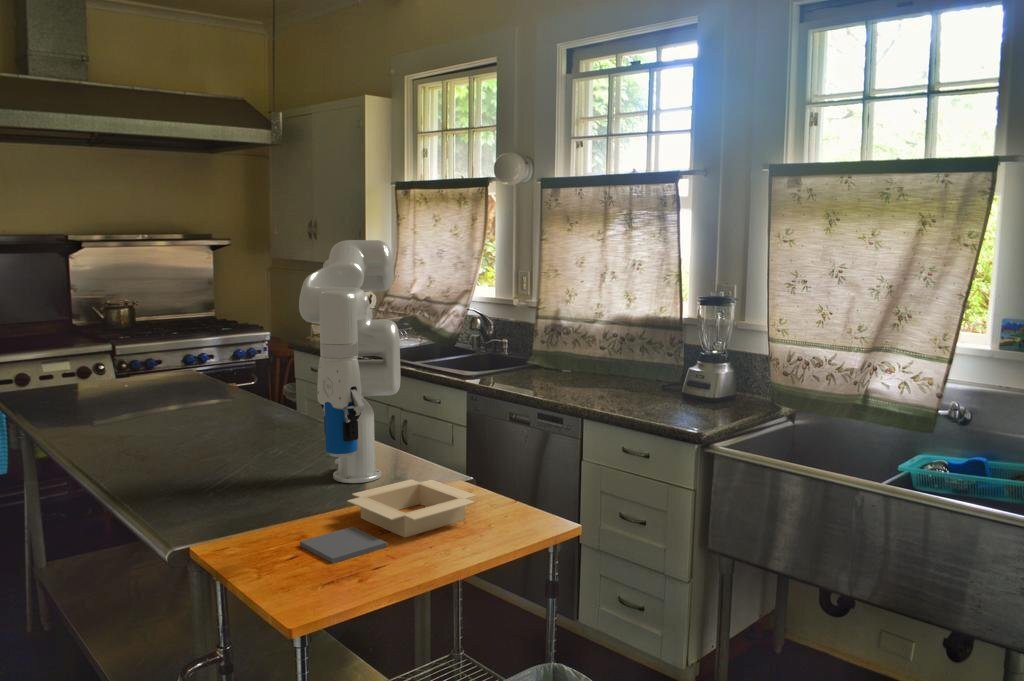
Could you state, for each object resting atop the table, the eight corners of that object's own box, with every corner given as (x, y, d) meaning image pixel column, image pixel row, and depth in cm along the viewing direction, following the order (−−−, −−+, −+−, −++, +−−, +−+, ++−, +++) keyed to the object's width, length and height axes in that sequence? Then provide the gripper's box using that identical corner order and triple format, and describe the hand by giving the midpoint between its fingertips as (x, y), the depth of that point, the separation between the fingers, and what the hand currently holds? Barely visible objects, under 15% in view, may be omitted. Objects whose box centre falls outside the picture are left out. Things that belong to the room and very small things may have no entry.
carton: (339, 517, 198) (339, 496, 197) (422, 495, 214) (422, 476, 214) (400, 545, 181) (400, 523, 180) (486, 519, 197) (486, 498, 196)
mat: (299, 545, 181) (299, 541, 181) (352, 531, 190) (352, 526, 189) (332, 563, 171) (332, 558, 171) (387, 547, 180) (386, 542, 180)
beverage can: (359, 449, 181) (358, 393, 180) (355, 457, 175) (354, 400, 173) (328, 449, 181) (327, 393, 180) (323, 458, 175) (321, 400, 173)
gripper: (301, 348, 179) (303, 432, 181) (346, 358, 166) (348, 448, 169) (332, 345, 184) (334, 427, 186) (378, 354, 171) (380, 441, 174)
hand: (341, 436), depth 178 cm, fingers closed on beverage can, 6 cm apart
